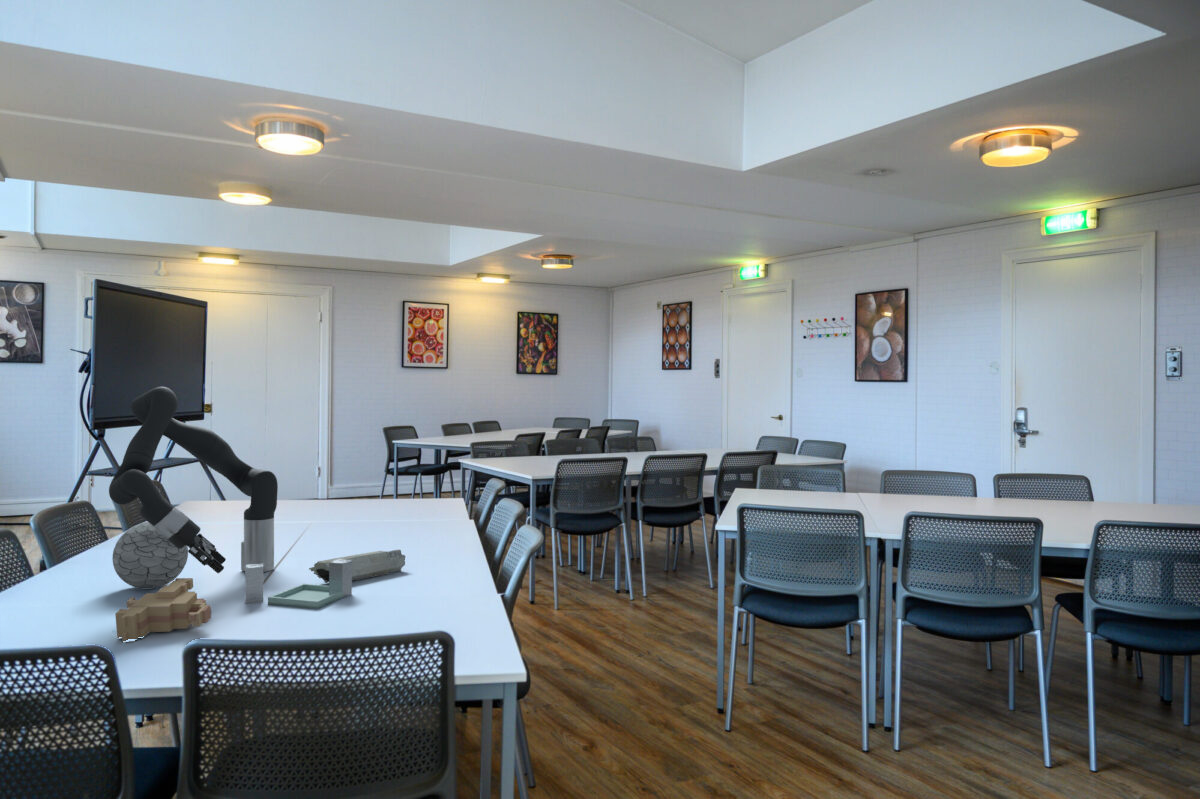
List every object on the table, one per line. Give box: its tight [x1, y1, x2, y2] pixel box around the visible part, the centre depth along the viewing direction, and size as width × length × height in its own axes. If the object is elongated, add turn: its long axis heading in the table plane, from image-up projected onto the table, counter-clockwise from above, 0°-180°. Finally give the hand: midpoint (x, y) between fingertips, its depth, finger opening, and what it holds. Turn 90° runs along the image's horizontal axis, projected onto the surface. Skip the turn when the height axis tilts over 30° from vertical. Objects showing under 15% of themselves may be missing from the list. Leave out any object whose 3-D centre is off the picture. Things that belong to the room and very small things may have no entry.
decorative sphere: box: [112, 521, 189, 589], centre depth 239 cm, size 20×20×20 cm
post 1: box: [244, 564, 264, 604], centre depth 226 cm, size 4×4×10 cm
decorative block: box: [308, 549, 406, 584], centre depth 254 cm, size 8×30×8 cm, turn 141°
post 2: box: [328, 559, 353, 598], centre depth 233 cm, size 4×4×10 cm
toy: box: [115, 577, 212, 642], centre depth 198 cm, size 10×20×20 cm
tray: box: [267, 583, 343, 610], centre depth 228 cm, size 16×16×2 cm
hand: (222, 566), depth 224 cm, fingers open, 8 cm apart
